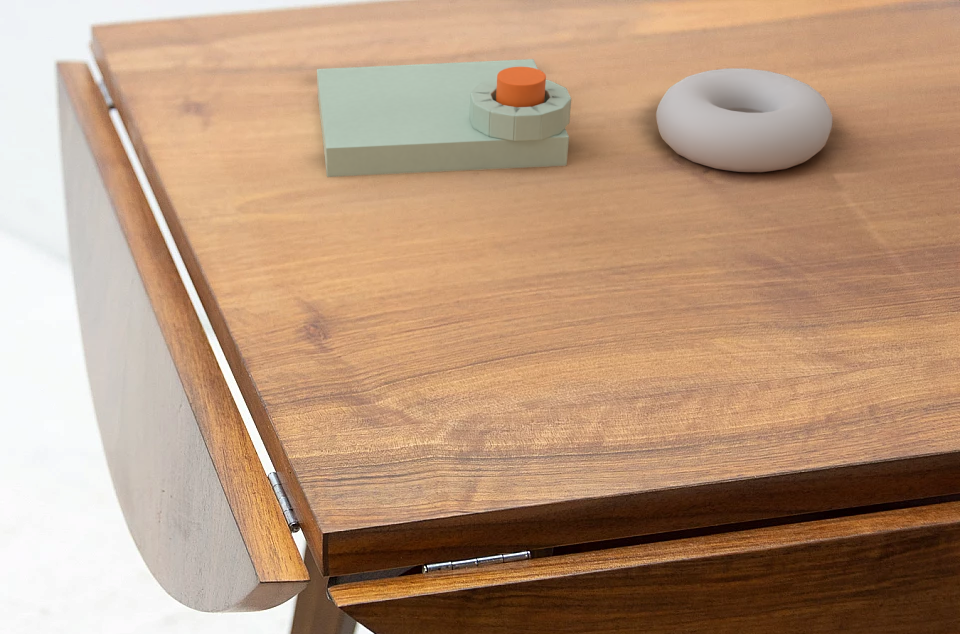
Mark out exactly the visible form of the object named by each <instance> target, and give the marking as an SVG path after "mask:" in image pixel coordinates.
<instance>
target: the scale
mask: <svg viewBox="0 0 960 634" xmlns="http://www.w3.org/2000/svg"><path fill="white" fill-rule="evenodd" d="M511 67H530V68H535V69H538V70H539V67H538V65H537V63H536V61H535V59H534V58H527V59H525V58H524V59H523V58H522V59H505V60H503V59H502V60H483V61H482V60H481V61H480V60H479V61H462V62H440V63H438V62H437V63H436V62H435V63H417V64H416V63H415V64H398V65H397V64H396V65H376V66H375V65H373V66H355V67H353V66H352V67H332V68H317V69H316V86H317V87H316V88H317V102H318V109H319V119H320V128H321V134H322V135H321V137H322V146H323V154H324V163H325V172H326V177H327V178H333V177H334V178H337V177H354V176H356V177H357V176H375V175H376V176H377V175H378V176H379V175H397V174H399V175H400V174H401V175H402V174H419V173H441V172H460V171H463V172H464V171H480V170H481V171H482V170H498V169H499V170H503V169H523V168H544V167H565V166H566V167H567V165H568V155H569V143H570V136H569V134H568V132H567V129H566V128H567V127H568V126H569V124H570V122H571V121H570V120H571V119H570V118H571V108H572V96H571V95H570V92H569V91H568V88H566V87H565V86H563V85H561V84H558V83H556V82H554V81H552V80H549V79H546V85H545V99H544V103H542V104H539V105H536V106H533V107H512V106H506V105H502V104H500V103H498V102H496V90H497V75H498V73H499V72H500V71H502V70H504V69H506V68H511Z"/></svg>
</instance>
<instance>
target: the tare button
mask: <svg viewBox="0 0 960 634" xmlns="http://www.w3.org/2000/svg"><path fill="white" fill-rule="evenodd" d="M546 80H547V76H546V73H545V72H544V71H542V70H540V69H539V68H538V69H535V68H530V67H511V68H506V69H504V70H502V71H500V72H499V73H498V75H497V90H496V102H498V103H500V104H502V105H506V106H512V107H533V106H536V105H539V104H542V103H544V99H545V85H546Z"/></svg>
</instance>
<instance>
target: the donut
mask: <svg viewBox="0 0 960 634" xmlns="http://www.w3.org/2000/svg"><path fill="white" fill-rule="evenodd" d="M655 118H656V119H655V120H656V124H657V129H658V132H659V134H660V137H661V139H662V140H663V141H664V142H665V143H666V144H667V145H668V146H669V147H670V148H671V149H672V151H674V152H675V153H676V154H677V155H679V156H680V157H683V158H685V159H687V160H689V161H691V162H692V163H695V164H699V165H702V166H706V167H709V168H713V169H716V170H722V171H728V172H737V173H765V172H773V171H774V172H775V171H781V170H786V169H789V168H792V167H796V166H799V165H801V164H804V163H805V162H807V161H808V160H810V159H811V158H812V157H814V156H816V154H818V153H819V152H820V151H822V149H823V148H824V147H825V146H826V144H827V142H828V139H829V137H830V133H831V131H832V129H833V118H834V117H833V114H832V111H831V108H830V106H829V105H828V103H827V100H826V99H825V97H824V96H823V95H822V94H821V93H820V92H819V91H817V89H815V88H814V87H812V86H811V85H810V84H807V83H805V82H803V81H801V80H799V79H796V78H794V77H791V76H789V75H786V74H782V73H778V72H774V71H770V70H764V69H763V70H762V69H754V68H739V67H737V68H734V67H733V68H719V69H711V70H705V71H702V72H698V73H695V74H691V75H688V76H686V77H684V78H682V79H681V80H679V81H677V82H676V83H674V84H673V85H671V86H670V87H668V89H667V90H666V92H665V93H664V95H663V96H662V98H661V100H660V101H659V103H658V106H657V109H656V111H655Z"/></svg>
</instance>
